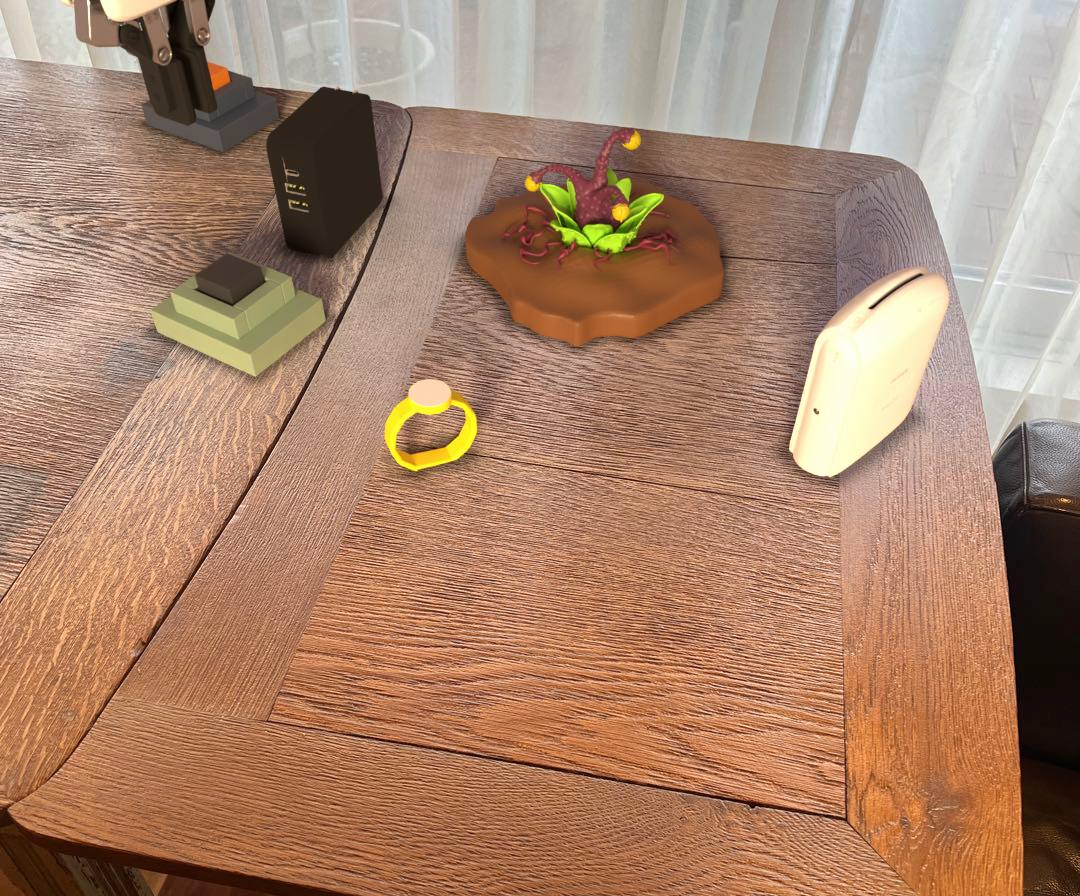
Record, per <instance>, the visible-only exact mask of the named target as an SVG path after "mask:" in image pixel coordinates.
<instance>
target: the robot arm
mask: <svg viewBox="0 0 1080 896" xmlns="http://www.w3.org/2000/svg"><path fill="white" fill-rule="evenodd" d="M59 1H60V2H61V3H62V5H65V6H67V7H70V8H73V9H74V20H75V21H74V26H75V36H76V38H77V40H78V41H79V42H81V43H83V44H86V45H88V46H92V47H95V48H121V49H123V50H125V52H126V53H127V54H128V55H130V56H133V57H135V58H137V60H138V64H139V67H140V71H141V74H142V78H143V81H144V84H145V88H146V91H147V95H148V100H150V102H151V104H152V106H153V109H154V111H155V113H156V114H157V115H159V116H161V117H164V118H166V119H169V120H172V121H175V122H178V123H181V124H183V125H186V126H189V125H191V124H193V123H195V121H196V113H195V109H196V110H199V111H202V112H205V113H209V114H210V113H212V112H214V111H216V110H217V103H216V98H215V94H214V90H213V86H212V80H211V76H210V72H209V68H208V63H207V62H208V59H207V55H206V51H205V46H207V45H209V43H210V41H211V30H210V20H211V17H212V13H213V11H214V9H215V5H216V0H59Z"/></svg>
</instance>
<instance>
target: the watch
mask: <svg viewBox="0 0 1080 896" xmlns="http://www.w3.org/2000/svg"><path fill="white" fill-rule="evenodd" d="M451 406H455V407H457V408H461V409H463V411H464V413H465V414H464V415H465V416H464V417H465V422H464V424H463V427H462V428H461V430H460V432H459V434H458V436H457V437H456V438H454V439H453V440H452V441H451V442H450V443H449V444H448V445H446V446H445V447H439V448H435V449H430V450H425V451H422V452H416V453H412V454H410V453H408V452H405V451H403V450H401V449H398V447H397V435H398V433H399V432H400V430H401V428H403V425H404V424H405V422H406V421H407V420H408V419H409V418H411V417H412V416H414V414H416V413H419V414H422V415H428V416H429V415H430V416H432V415H437V414H440V413H443V412H445V411H447V410H448V409H449V408H450V407H451ZM384 424H385V426H384V441H385V443H386V445H387V447H388V450H389V451H390V453H391V455H392V457H393V458H394V460H395V461H396V462H397V464H399V466H401V467H403V468H404V467H405V468H406V469H408V470H411V471H413V472H414V471H415V472H418V471H419V470H421V469H426V468H430V467H435V466H439V465H442V464H446V463H450V462H453V461H457V460H458V459H459V458H460V457H461V456H463V455H464V454H465V453H466V452H468V450H469V449H470V448H471V446H472V445H473V442H474V440H475V438H476V437H477V434H478V433H477V432H478V418H477V415H476V413H475V411H474V409H473V408H472V406H471V405H470V403H469V402H468V400H467V399H466V397H464V396H463V394H462V393H460V392H459V391H456V390H453V389H452V388H451V387H450V386H449V385H448V384H447V383H446V382H444V381H442V380H439V379H434V378H433V379H432V378H428V379H426V378H425V379H422V380H419V381H416V382H415V383H413V384H412V385H411V386H410V387H409V389H408V392H407V396H406V398H405V399H403V400H402V401H400V402H398V403H397V404H396V406H395V407H394V408H393V410H392V411H391V413H390V414H389V416H388V418H386V422H385V423H384Z"/></svg>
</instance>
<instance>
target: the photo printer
mask: <svg viewBox="0 0 1080 896" xmlns="http://www.w3.org/2000/svg"><path fill="white" fill-rule="evenodd" d="M949 304H950V290H949V287H948V284H947V283H946V280H945V278H944V277H943V276H942V274H941V273H938V272H934V271H931V270H930V269H929V268H928V267H927V266H925V265H915V266H910V267H906V268H902V269H899V270H896V271H894V272H891V273H889V274H887V275H885V276H883V277H882V278H880V279H877V280H875V281H874V282H873V283H870V284H869V285H867V286H866V288H864V289H863V290H861V291H860V292H859V293H857V294H856V295H855V296H854V297H852V298H851V299H850V300H849V301H848V302H846V303H845V304H844V305H843V306H842V307H841V308H840V309H839V310H838V311H837V312H835V314H834V315H833V316H832V317H831V318H830V319H829V321H827V323H826V324H825V325H824V326H823V328H822V329H821V331H820V333H819V334H818V335H817V338H816V340H815V342H814V346H813V351H812V354H811V359H810V362H809V366H808V369H807V374H806V379H805V382H804V387H803V389H802V394H801V398H800V403H799V406H798V410H797V413H796V414H797V415H796V418H795V422H794V426H793V429H792V433H791V436H790V441H789V447H788V450H789V452H790V453H791V454H792V455H793V456H792V457H793V460H794V462H795V463H796V464H797V465H798V467H799V468H801V470H804V471H805V472H807V473H810V474H812V475H814V476H820V477H828V478H831V477H834V476H836V475H838V474H840V473H841V472H843V471H844V470H846V469H847V468H849V467H851V465H853V464H854V463H855V462H857V461H858V460H859V459H861V458H862V457H863V456H865V454H867V453H868V452H869V451H871V450H872V449H874V447H876V446H877V445H878V444H879V443H880V442H882V441H883V440H884V439H885V438H886V437H887V436H888V435H890V434H891V433H892V432H893V431H894V430H895V429H896V428H897V427H899V426H900V425H901V424H902V423H903V422H904V421H905V419H906V418H907V416H908V415H909V413H910V411H911V409H912V407H913V405H914V403H915V400H916V396H917V395H918V392H919V390H920V386H921V383H922V381H923V378H924V375H925V373H926V370H927V367H928V364H929V361H930V359H931V356H932V353H933V350H934V347H935V345H936V341H937V340H938V337H939V334H940V331H941V328H942V325H943V322H944V319H945V317H946V314H947V311H948V309H949Z"/></svg>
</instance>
